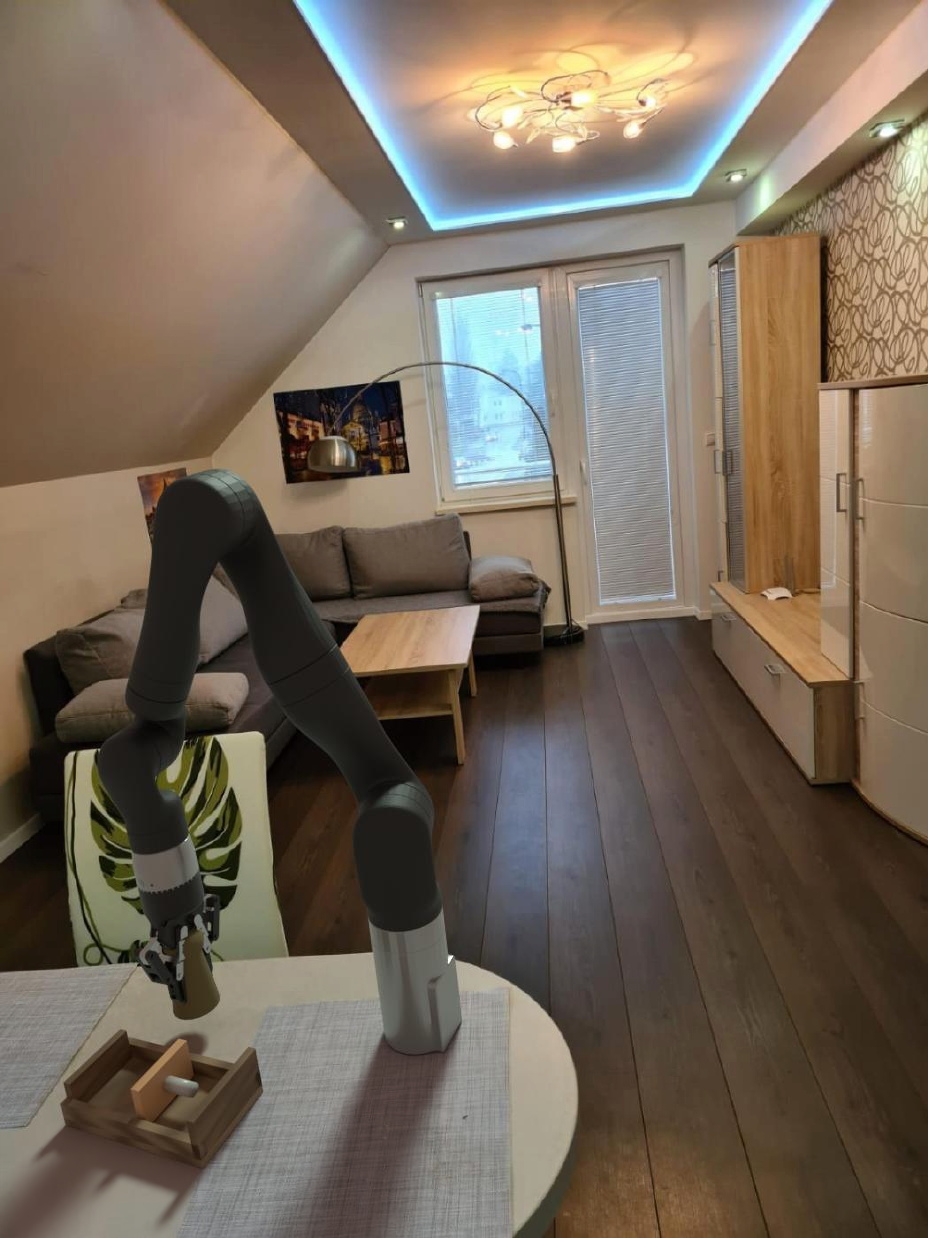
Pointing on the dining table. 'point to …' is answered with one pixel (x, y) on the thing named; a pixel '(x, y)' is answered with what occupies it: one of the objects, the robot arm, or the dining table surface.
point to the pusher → (164, 1082)
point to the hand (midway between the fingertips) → (193, 989)
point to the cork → (195, 979)
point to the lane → (185, 1122)
